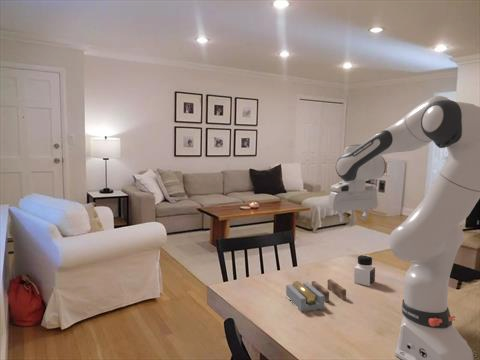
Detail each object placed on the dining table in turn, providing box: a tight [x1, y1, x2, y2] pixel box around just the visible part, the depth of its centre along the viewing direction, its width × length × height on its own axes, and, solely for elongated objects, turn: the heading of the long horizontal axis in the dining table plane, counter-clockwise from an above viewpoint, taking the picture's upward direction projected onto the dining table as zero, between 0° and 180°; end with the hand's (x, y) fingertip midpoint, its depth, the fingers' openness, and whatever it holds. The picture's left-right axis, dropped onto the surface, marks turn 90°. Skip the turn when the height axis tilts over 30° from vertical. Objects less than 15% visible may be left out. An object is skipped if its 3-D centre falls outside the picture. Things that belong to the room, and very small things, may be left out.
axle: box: [291, 280, 317, 305], centre depth 136 cm, size 14×4×4 cm, turn 15°
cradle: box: [285, 282, 325, 312], centre depth 136 cm, size 14×10×5 cm
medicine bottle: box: [353, 254, 376, 287], centre depth 156 cm, size 7×7×12 cm
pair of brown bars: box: [311, 278, 347, 303], centre depth 143 cm, size 12×9×4 cm
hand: (353, 220), depth 139 cm, fingers open, 8 cm apart
